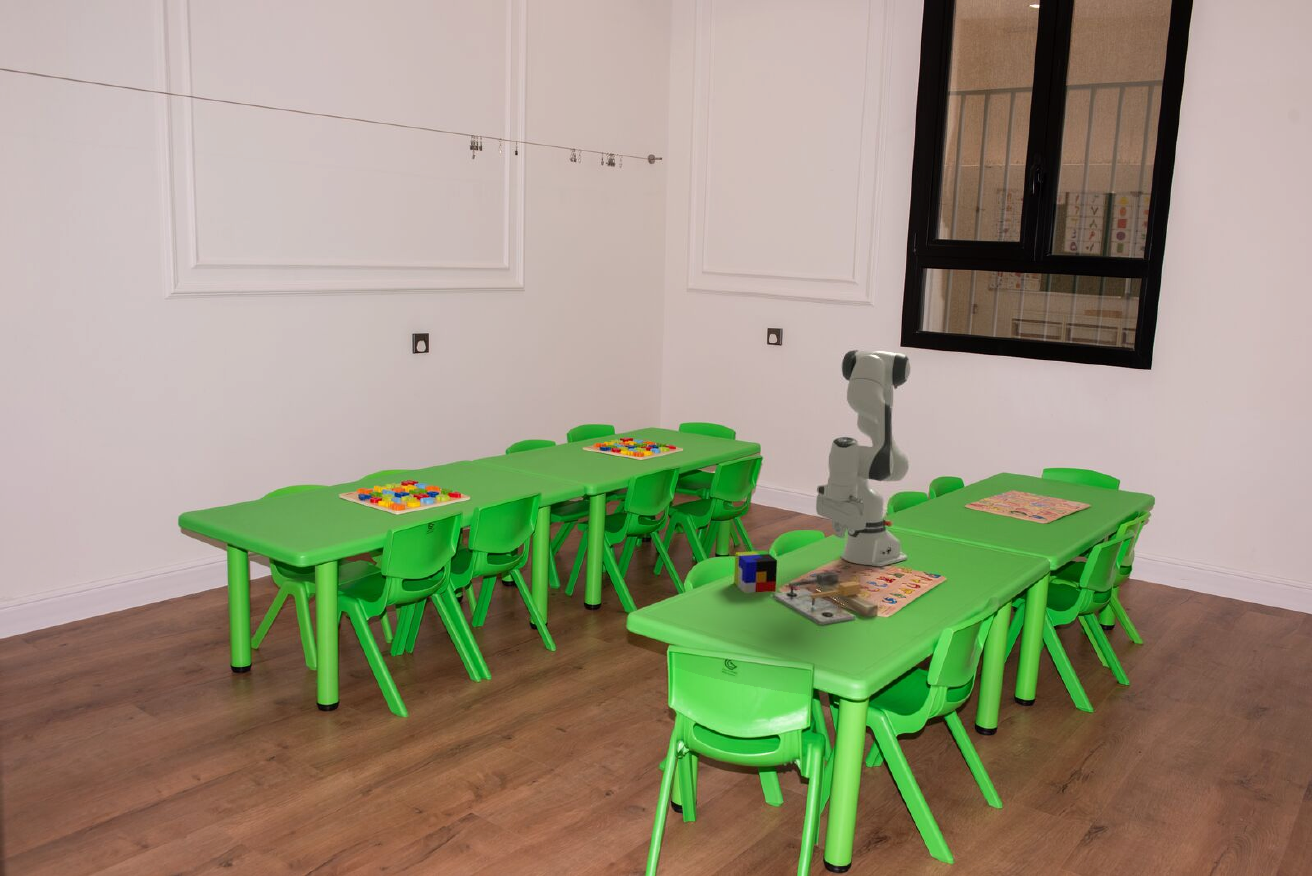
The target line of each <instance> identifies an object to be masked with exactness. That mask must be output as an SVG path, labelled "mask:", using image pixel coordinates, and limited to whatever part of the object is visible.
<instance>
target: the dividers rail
mask: <svg viewBox="0 0 1312 876" xmlns="http://www.w3.org/2000/svg"><path fill="white" fill-rule="evenodd" d="M839 575H840V574H839V573H837V572H835V571H834V570H833V571H831V570H830V571H825V572H819V573H816V578H812V579H805V580H799V581H793V582H788V587H790V591H791V593H793V591H794V588H795V587H799V586H800V587H801V586H806V585H812V584H815V590H816V589H818V590H820V591H821V592H828V591H834V590H838V587H839ZM830 597H832V598H834V599H836V600H837V601H839V602H841V603H842V604H844V605H845V607H846V606H847V608H848V609H849V610H852V611H854V612H856V613H858V614H860V615H861V616H863V617H865V618H870V617H875V615H876V616H878V611H879V609H878V608H879V605H878V604H876V603H874V602H872V601H870V600H869V599H866V598H864V597H862V596H860V595H859V594H856V595H850V596H842V595H841V594H838V595H832V596H830ZM837 601H836V602H837ZM839 602H838V603H839ZM841 603H840V604H841ZM842 604H841V605H842ZM844 605H843V606H844Z"/></svg>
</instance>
